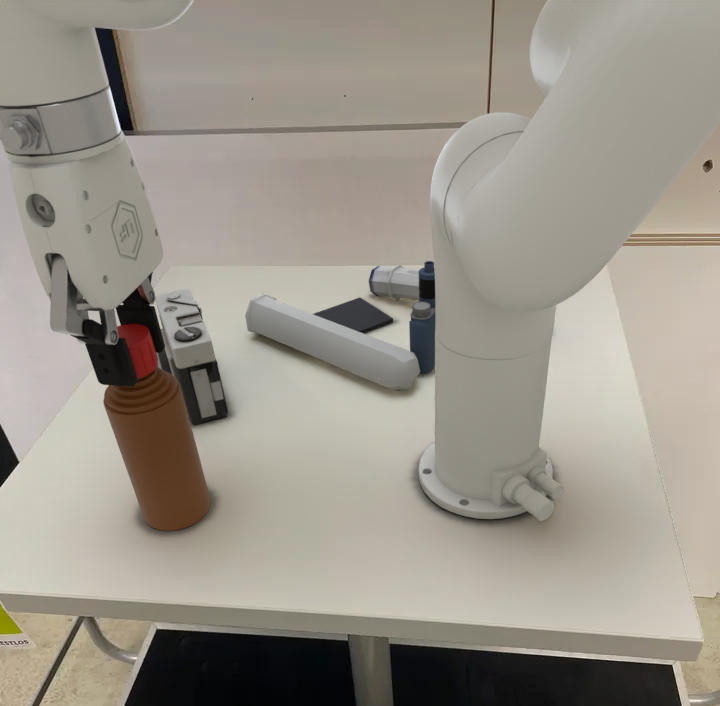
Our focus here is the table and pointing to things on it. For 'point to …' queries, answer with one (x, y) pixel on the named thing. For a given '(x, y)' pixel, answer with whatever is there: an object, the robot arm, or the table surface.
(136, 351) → the cap
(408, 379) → the tube
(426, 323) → the vaping device
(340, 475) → the table surface
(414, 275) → the white faceted cylinder
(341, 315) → the mat
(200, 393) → the camera
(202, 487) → the bottle
